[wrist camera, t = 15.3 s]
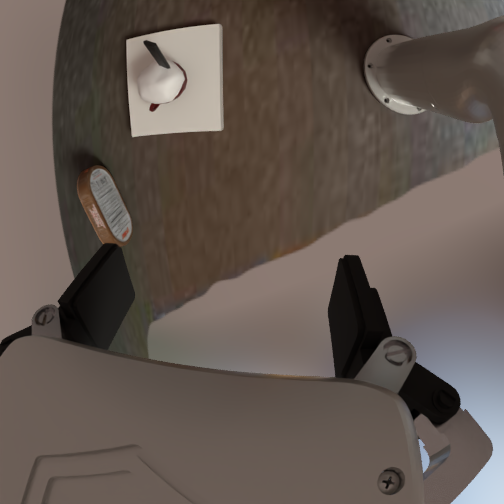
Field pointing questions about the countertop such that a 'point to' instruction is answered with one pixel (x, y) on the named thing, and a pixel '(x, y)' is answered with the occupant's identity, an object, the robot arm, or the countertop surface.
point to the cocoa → (160, 79)
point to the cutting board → (197, 88)
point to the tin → (104, 205)
